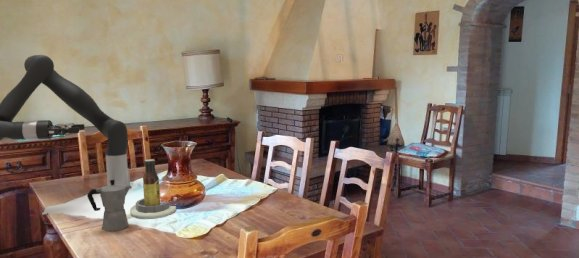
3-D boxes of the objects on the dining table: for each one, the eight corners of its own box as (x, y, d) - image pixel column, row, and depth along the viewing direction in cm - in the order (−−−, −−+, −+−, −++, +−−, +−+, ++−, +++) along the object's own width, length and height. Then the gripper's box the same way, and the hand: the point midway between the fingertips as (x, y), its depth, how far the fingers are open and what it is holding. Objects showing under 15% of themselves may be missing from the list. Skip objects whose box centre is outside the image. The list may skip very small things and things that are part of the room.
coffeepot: (130, 219, 177) (127, 174, 174) (136, 227, 169) (133, 180, 166) (87, 227, 169) (84, 180, 166) (92, 236, 161) (88, 186, 158)
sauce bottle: (161, 209, 184) (159, 161, 181) (145, 211, 182) (142, 162, 179) (159, 204, 190) (156, 157, 187) (143, 206, 188) (140, 159, 185)
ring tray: (150, 201, 198) (150, 193, 198) (184, 207, 191) (184, 198, 190) (120, 215, 182) (119, 205, 181) (156, 221, 175) (155, 211, 174)
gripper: (30, 123, 173) (76, 121, 176) (43, 118, 187) (85, 116, 190) (32, 142, 174) (78, 140, 177) (44, 136, 188) (86, 134, 191)
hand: (81, 128), depth 183 cm, fingers open, 8 cm apart
